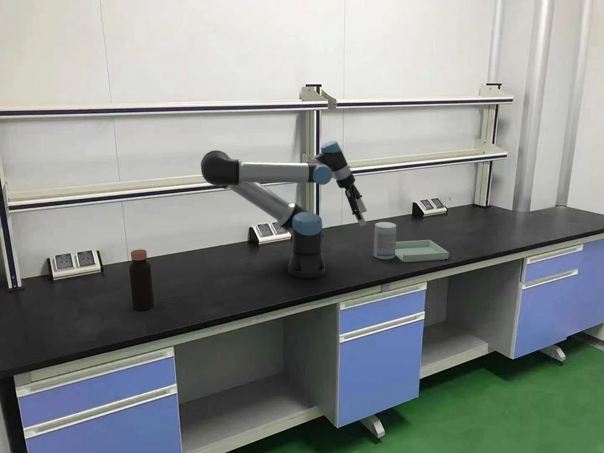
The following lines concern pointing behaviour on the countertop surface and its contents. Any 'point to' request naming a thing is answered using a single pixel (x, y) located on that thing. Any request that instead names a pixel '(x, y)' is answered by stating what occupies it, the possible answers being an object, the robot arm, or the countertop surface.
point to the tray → (419, 251)
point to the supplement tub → (384, 240)
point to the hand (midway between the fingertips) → (363, 218)
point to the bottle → (141, 281)
